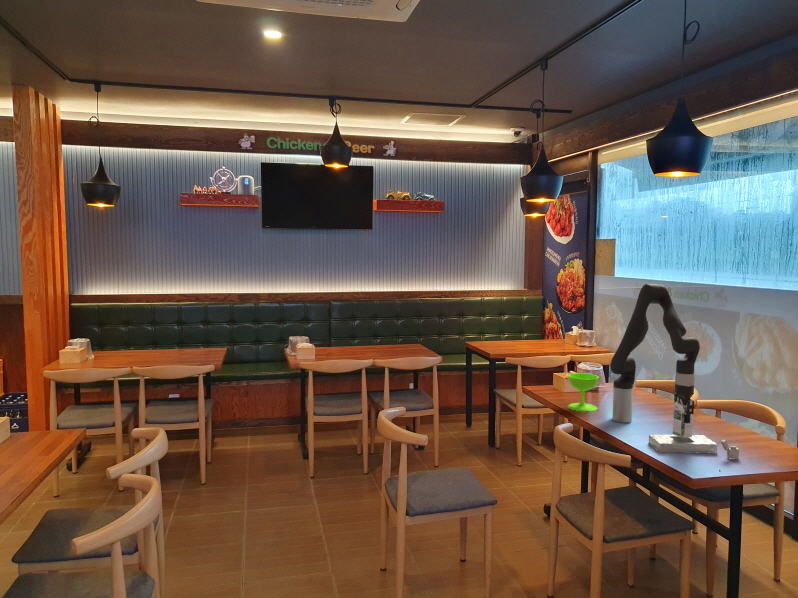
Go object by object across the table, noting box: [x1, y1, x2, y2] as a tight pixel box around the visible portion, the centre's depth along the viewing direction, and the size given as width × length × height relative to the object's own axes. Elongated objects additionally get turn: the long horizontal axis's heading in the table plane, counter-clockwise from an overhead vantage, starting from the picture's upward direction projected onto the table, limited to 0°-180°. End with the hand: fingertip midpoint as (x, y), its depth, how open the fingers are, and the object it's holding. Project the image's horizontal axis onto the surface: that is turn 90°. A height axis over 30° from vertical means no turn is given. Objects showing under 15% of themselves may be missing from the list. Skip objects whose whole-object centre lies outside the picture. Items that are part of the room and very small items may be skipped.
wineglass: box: [567, 372, 599, 412], centre depth 312 cm, size 16×16×18 cm
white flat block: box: [648, 434, 718, 454], centre depth 249 cm, size 12×24×4 cm, turn 87°
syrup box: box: [671, 402, 694, 438], centre depth 248 cm, size 6×6×14 cm
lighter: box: [720, 439, 740, 459], centre depth 236 cm, size 7×2×8 cm, turn 93°
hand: (683, 420), depth 248 cm, fingers closed on syrup box, 7 cm apart
